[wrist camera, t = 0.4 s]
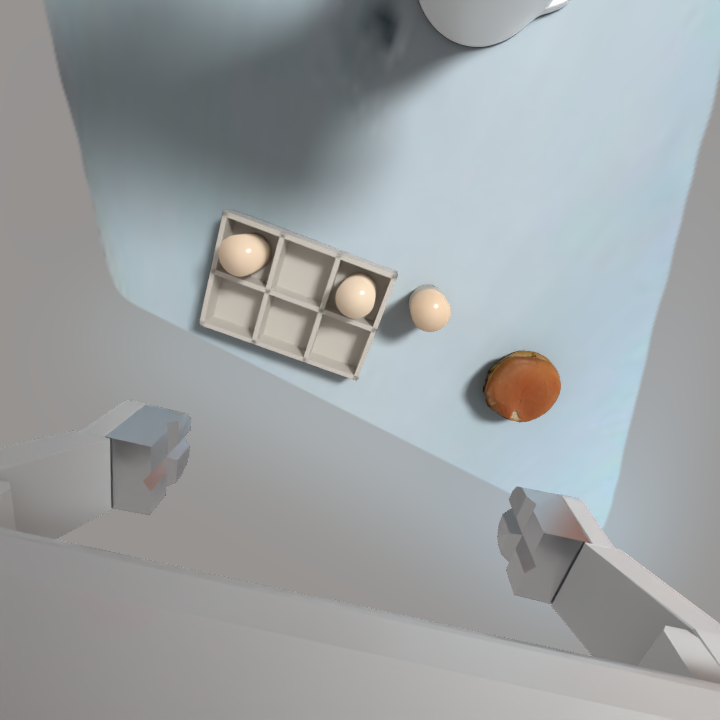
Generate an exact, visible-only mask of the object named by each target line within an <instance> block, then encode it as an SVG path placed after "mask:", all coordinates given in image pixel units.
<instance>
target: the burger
mask: <svg viewBox="0 0 720 720" xmlns="http://www.w3.org/2000/svg"><path fill="white" fill-rule="evenodd" d="M560 389H561V382H560V376H559V374H558V372H557V370H556V368H555V367H554V366H553V365H552V363H551V362H550V361H549V360H548V359H547V358H546V357H545V356H543V355H541V354H539V353H535V352H531V351H517V352H514V353H512V354H510V355H508V356H507V357H505V358H503V359H502V360H500V361H499V362H498V363H497V364H495V365H494V366H493V367H492V368H491V369H490V370H489V372H488V376H487V379H486V383H485V385H484V388H483V392H484V393H485V395H486V397H487V399H486V403H487V405H488V406H489V407H491V409H493V410H494V411H496V412H497V413H498V414H500V415H501V416H503V417H505V418H507V419H509V420H513V421H517V422H527V421H531V420H533V419H536V418H538V417H540V416H541V415H543V414H545V413H546V412H547V411H548V410H549V409H550V408H551V407H552V406H553V404H554V403H555V402H556V400H557V398H558V396H559V394H560Z"/></svg>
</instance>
